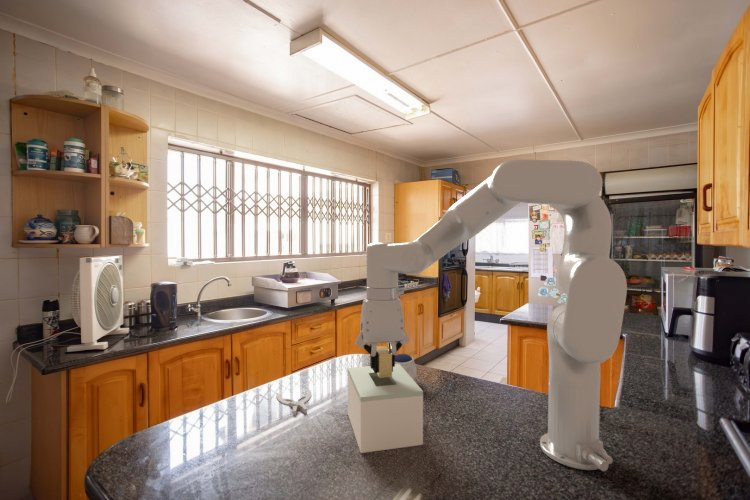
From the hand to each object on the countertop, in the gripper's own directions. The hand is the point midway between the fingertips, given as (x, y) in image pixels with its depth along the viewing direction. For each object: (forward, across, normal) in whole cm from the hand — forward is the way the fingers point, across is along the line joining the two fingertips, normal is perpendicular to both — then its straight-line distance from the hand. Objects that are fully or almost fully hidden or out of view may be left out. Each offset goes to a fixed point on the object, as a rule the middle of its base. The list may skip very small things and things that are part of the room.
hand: (382, 369), depth 87 cm
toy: (+14, -7, -23) cm, 28 cm away
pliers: (+15, +20, -19) cm, 31 cm away
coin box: (+14, 0, 0) cm, 14 cm away
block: (+1, 0, 0) cm, 1 cm away
